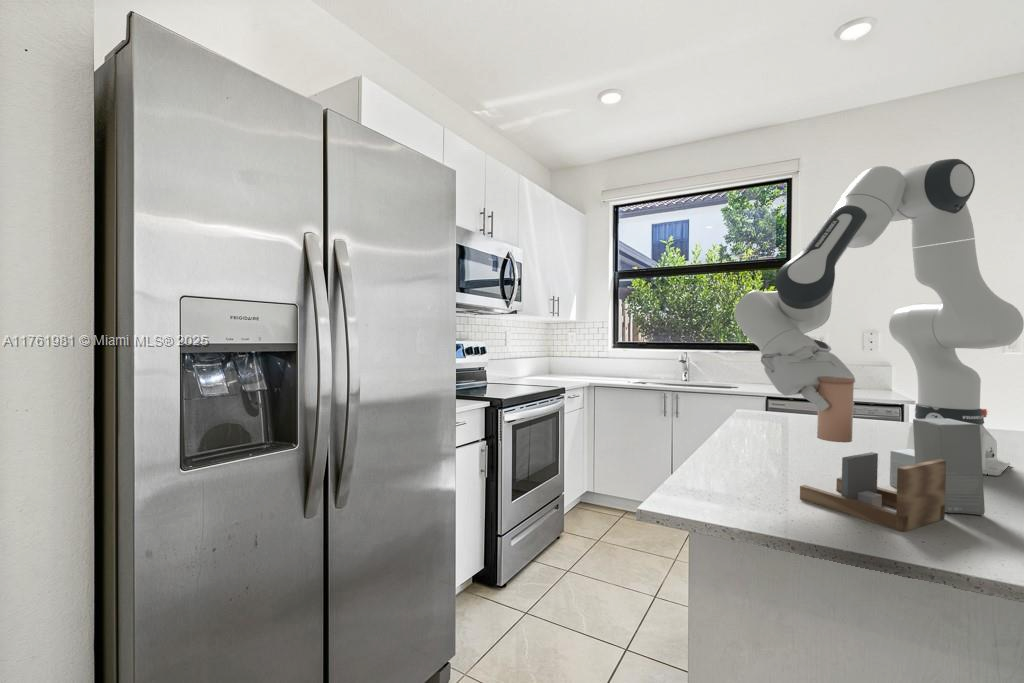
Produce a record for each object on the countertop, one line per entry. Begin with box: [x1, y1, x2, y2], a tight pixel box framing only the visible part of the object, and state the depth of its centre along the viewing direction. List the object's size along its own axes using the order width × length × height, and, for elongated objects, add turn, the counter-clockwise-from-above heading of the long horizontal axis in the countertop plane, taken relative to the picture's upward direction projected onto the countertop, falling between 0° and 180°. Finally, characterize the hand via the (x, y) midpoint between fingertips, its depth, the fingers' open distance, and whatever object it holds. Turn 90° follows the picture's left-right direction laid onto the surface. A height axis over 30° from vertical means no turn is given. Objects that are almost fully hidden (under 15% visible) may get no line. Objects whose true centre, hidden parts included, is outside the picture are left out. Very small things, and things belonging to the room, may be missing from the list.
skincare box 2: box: [912, 418, 986, 516], centre depth 89 cm, size 8×7×16 cm
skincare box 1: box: [889, 448, 915, 488], centre depth 99 cm, size 6×6×7 cm
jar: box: [816, 376, 855, 443], centre depth 93 cm, size 6×6×12 cm
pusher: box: [841, 451, 883, 508], centre depth 88 cm, size 9×3×9 cm, turn 116°
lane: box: [799, 459, 946, 533], centre depth 88 cm, size 13×17×10 cm
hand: (838, 407), depth 93 cm, fingers closed on jar, 6 cm apart
